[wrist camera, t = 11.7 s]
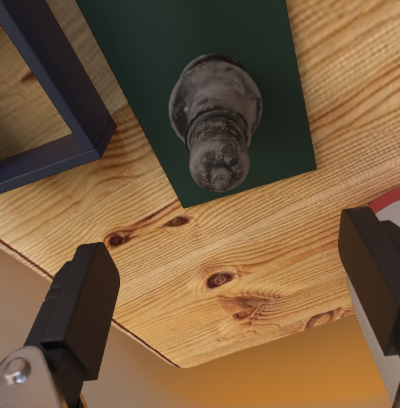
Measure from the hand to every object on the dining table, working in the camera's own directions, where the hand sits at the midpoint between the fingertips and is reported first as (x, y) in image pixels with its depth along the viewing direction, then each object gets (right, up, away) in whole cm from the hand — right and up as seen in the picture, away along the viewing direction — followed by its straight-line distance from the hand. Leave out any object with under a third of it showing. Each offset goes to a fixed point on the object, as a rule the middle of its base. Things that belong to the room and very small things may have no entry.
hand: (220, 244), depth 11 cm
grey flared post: (0, +9, +12) cm, 16 cm away
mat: (0, +10, +12) cm, 16 cm away
